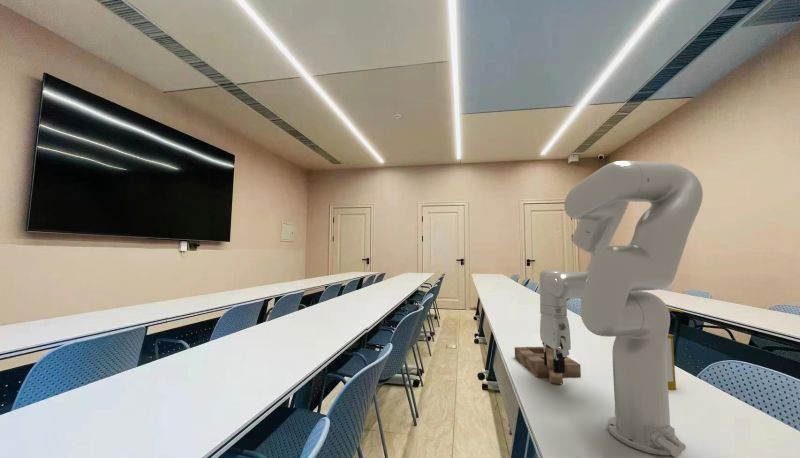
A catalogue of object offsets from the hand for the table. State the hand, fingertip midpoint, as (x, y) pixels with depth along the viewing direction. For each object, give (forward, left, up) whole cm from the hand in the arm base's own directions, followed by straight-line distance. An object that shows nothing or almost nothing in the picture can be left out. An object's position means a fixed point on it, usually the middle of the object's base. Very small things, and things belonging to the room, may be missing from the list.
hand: (554, 368), depth 95 cm
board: (+12, -3, -4) cm, 13 cm away
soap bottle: (-3, -32, -4) cm, 33 cm away
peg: (-1, 0, -4) cm, 4 cm away
